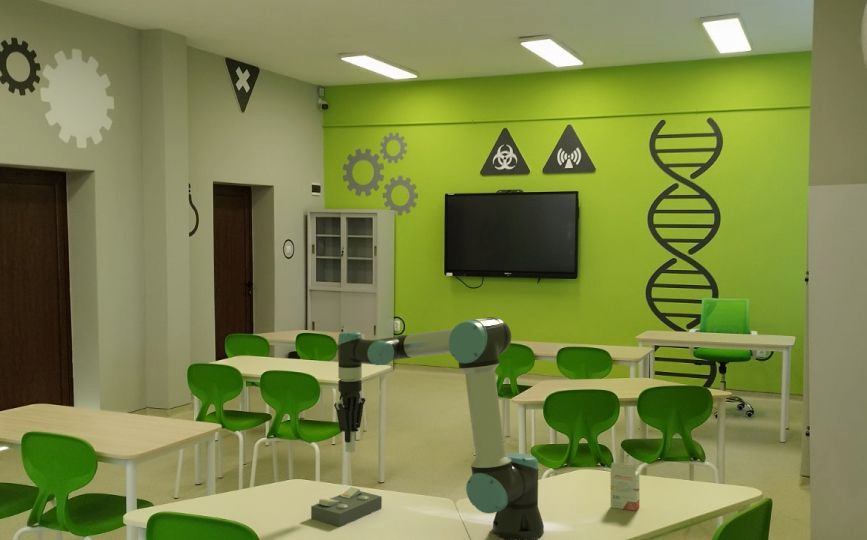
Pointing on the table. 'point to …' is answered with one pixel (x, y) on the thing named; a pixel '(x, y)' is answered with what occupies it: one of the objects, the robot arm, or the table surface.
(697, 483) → the table surface
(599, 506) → the table surface
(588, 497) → the table surface
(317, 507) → the switch panel
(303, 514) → the table surface
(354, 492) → the rocker
